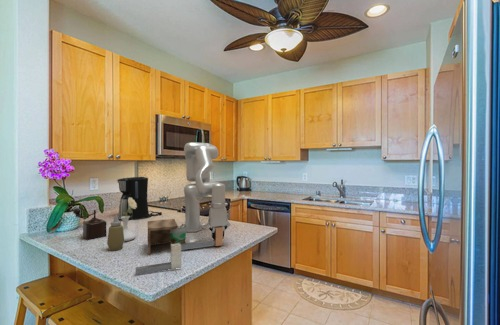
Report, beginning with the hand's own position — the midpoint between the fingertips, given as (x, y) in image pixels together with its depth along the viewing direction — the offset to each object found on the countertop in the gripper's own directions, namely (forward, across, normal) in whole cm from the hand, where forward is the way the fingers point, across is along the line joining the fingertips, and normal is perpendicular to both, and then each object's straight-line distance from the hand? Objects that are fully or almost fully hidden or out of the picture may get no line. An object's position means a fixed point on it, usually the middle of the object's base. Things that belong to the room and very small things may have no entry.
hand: (218, 238), depth 134 cm
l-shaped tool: (+4, +31, +20) cm, 37 cm away
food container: (+4, +19, -10) cm, 22 cm away
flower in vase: (+5, +48, -31) cm, 57 cm away
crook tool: (+3, +10, -3) cm, 11 cm away
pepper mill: (+5, +69, -44) cm, 82 cm away
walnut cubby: (+4, +29, -9) cm, 30 cm away
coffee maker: (+5, +43, -90) cm, 100 cm away
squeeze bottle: (+4, +52, -16) cm, 54 cm away
